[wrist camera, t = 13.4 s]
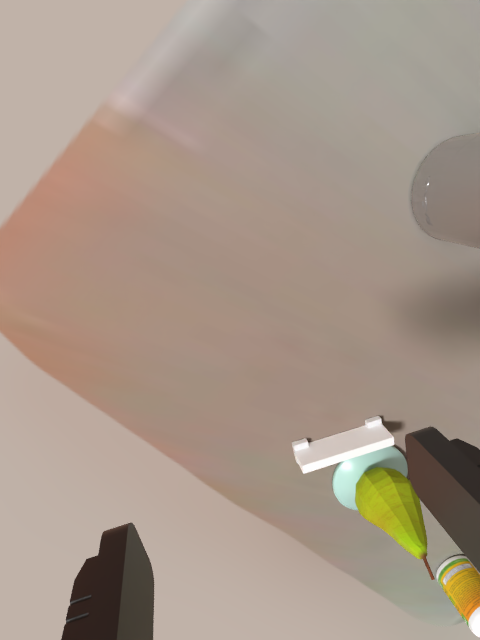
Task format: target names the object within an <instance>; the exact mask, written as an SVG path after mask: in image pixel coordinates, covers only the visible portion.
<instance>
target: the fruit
mask: <svg viewBox="0 0 480 640" xmlns="http://www.w3.org/2000/svg"><path fill="white" fill-rule="evenodd" d="M355 503H356V506H357V508H358V510H359V513H360V514H361V515H362V516H363V517H364V518H365V519H367V520H368V521H370V522H371V523H373V524H374V525H376V526H378V527H379V528H381V529H383V530H384V531H385V532H387V533H388V534H389V535H390V536H392V537H393V538H394V539H395V540H396V541H397V542H398V543H399V544H400V545H401V546H402V547H403V548H404V549H405V550H407V551H408V552H409V553H411V554H412V555H413V556H415V557H416V558H418V559H423V560H424V562H425V565H426V567H427V569H428V572H429V574H430V577H431V579H432V580H434V576H433V574H432V572H431V569H430V567H429V564H428V562H427V559H426V556H427V536H426V530H425V526H424V521H423V516H422V510H421V505H420V500H419V497H418V496H417V494H416V493H415V491H414V489H413V487H412V485H411V482H410V480H408V479H407V478H406V477H405V476H404V475H403V474H402V473H401V472H399V471H397V470H396V469H391V468H383V467H376V468H373V469H371V470H369V471H366V472H364V473H363V474H362V476H361V477H360V479H359V480H358V482H357V483H356V493H355Z"/></svg>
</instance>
